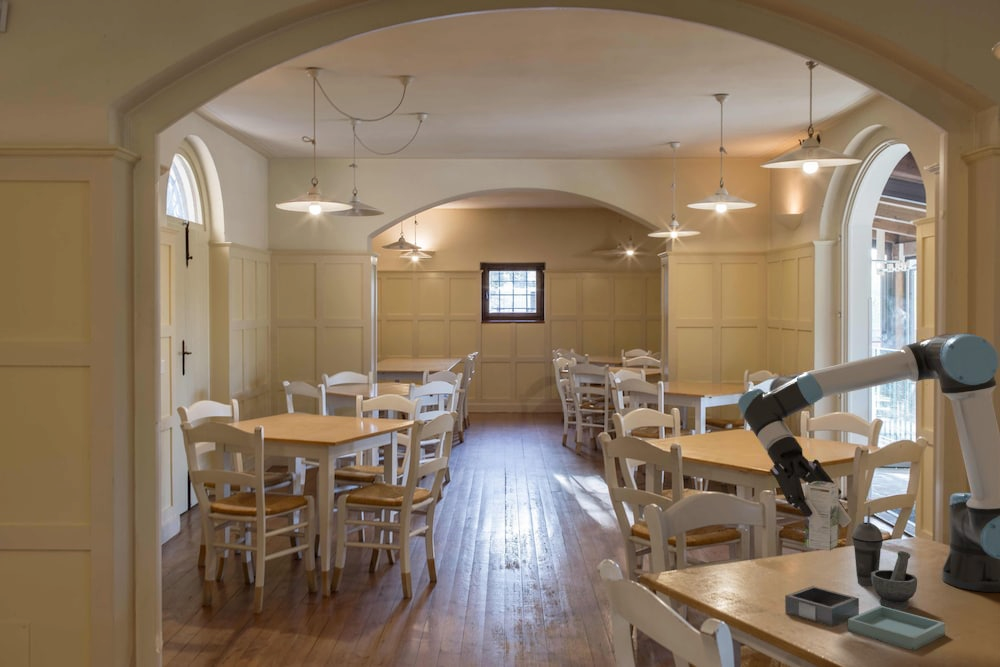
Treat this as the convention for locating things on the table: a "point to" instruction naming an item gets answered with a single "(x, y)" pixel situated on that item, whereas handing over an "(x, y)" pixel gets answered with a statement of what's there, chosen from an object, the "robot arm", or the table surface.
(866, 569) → the beverage cup
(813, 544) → the syrup box
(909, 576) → the mortar and pestle
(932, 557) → the table surface
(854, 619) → the tray
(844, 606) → the square open bin
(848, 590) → the table surface
